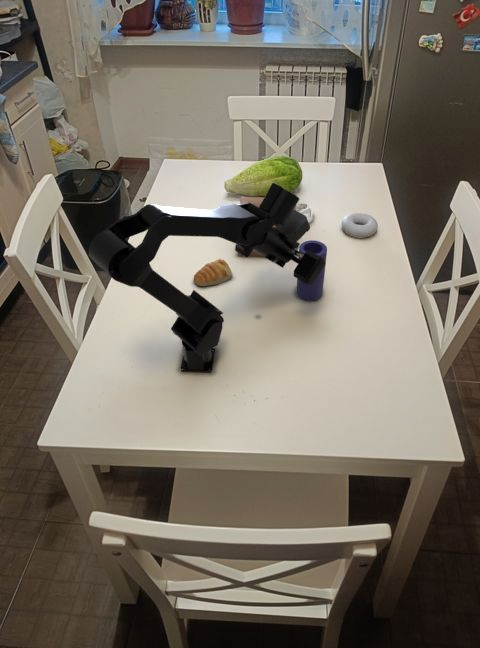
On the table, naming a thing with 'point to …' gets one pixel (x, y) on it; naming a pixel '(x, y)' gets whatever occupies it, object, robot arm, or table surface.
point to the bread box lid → (255, 202)
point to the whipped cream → (306, 211)
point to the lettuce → (266, 176)
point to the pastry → (213, 273)
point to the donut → (359, 225)
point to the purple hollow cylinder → (316, 289)
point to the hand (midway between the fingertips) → (302, 264)
